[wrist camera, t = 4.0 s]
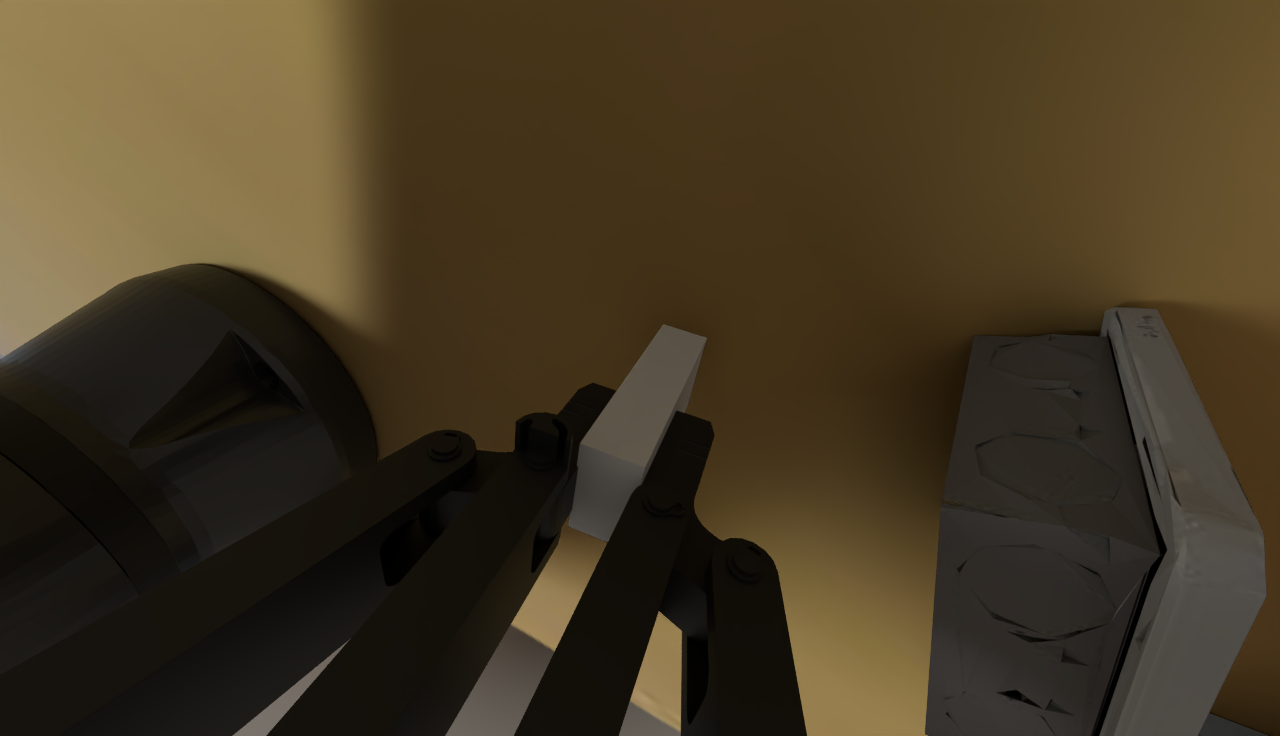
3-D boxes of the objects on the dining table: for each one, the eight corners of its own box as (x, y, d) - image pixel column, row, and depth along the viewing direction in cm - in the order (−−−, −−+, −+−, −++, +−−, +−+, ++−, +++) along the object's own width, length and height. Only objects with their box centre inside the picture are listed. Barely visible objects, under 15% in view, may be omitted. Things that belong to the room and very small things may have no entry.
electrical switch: (1084, 553, 16) (1246, 932, 9) (910, 530, 19) (928, 816, 11) (1148, 292, 13) (1522, 587, 5) (919, 304, 15) (954, 518, 8)
